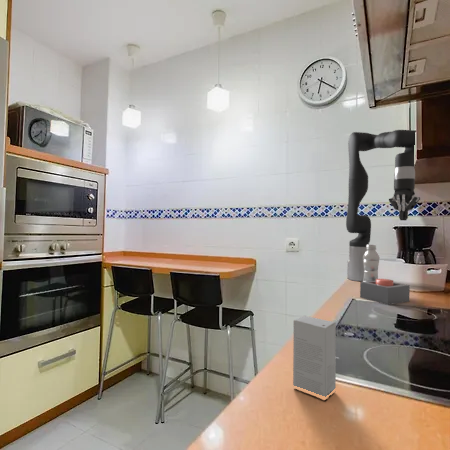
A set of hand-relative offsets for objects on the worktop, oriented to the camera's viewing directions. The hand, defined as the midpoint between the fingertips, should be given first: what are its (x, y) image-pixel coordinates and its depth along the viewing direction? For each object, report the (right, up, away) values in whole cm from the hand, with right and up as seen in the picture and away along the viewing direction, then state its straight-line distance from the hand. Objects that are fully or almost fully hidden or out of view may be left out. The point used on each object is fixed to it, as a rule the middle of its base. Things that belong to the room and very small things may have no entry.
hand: (403, 220), depth 131 cm
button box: (-13, -30, -10) cm, 35 cm away
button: (-13, -28, -10) cm, 33 cm away
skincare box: (-59, -31, -77) cm, 102 cm away
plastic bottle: (-13, -31, +2) cm, 33 cm away
